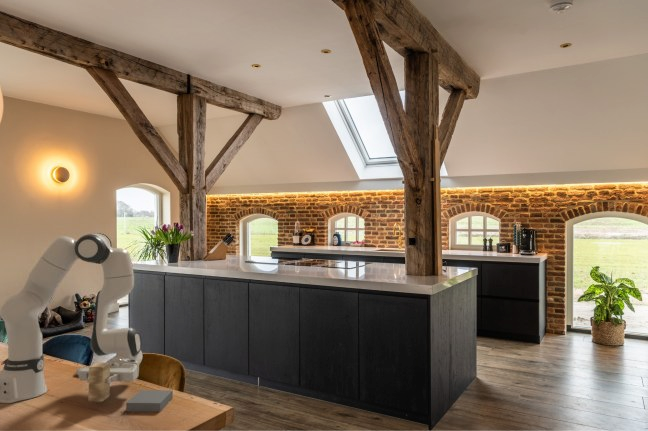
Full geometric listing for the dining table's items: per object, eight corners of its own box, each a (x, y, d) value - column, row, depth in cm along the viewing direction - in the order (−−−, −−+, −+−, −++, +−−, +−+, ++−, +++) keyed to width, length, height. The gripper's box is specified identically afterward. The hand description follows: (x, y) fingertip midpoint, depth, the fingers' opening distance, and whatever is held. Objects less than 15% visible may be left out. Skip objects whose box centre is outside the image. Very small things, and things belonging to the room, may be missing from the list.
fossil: (89, 359, 210) (109, 363, 208) (88, 367, 210) (108, 371, 208) (71, 367, 199) (92, 371, 197) (70, 375, 199) (91, 379, 197)
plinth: (126, 411, 162) (126, 402, 162) (140, 398, 174) (140, 390, 174) (160, 411, 162) (160, 403, 162) (172, 398, 174) (172, 390, 174)
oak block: (88, 401, 164) (89, 366, 164) (95, 395, 169) (96, 362, 169) (102, 401, 164) (103, 367, 164) (109, 396, 169) (110, 362, 169)
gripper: (90, 359, 180) (69, 371, 166) (142, 361, 179) (126, 372, 165) (89, 376, 180) (69, 389, 166) (142, 377, 179) (125, 390, 165)
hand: (98, 381), depth 166 cm, fingers closed on oak block, 5 cm apart
